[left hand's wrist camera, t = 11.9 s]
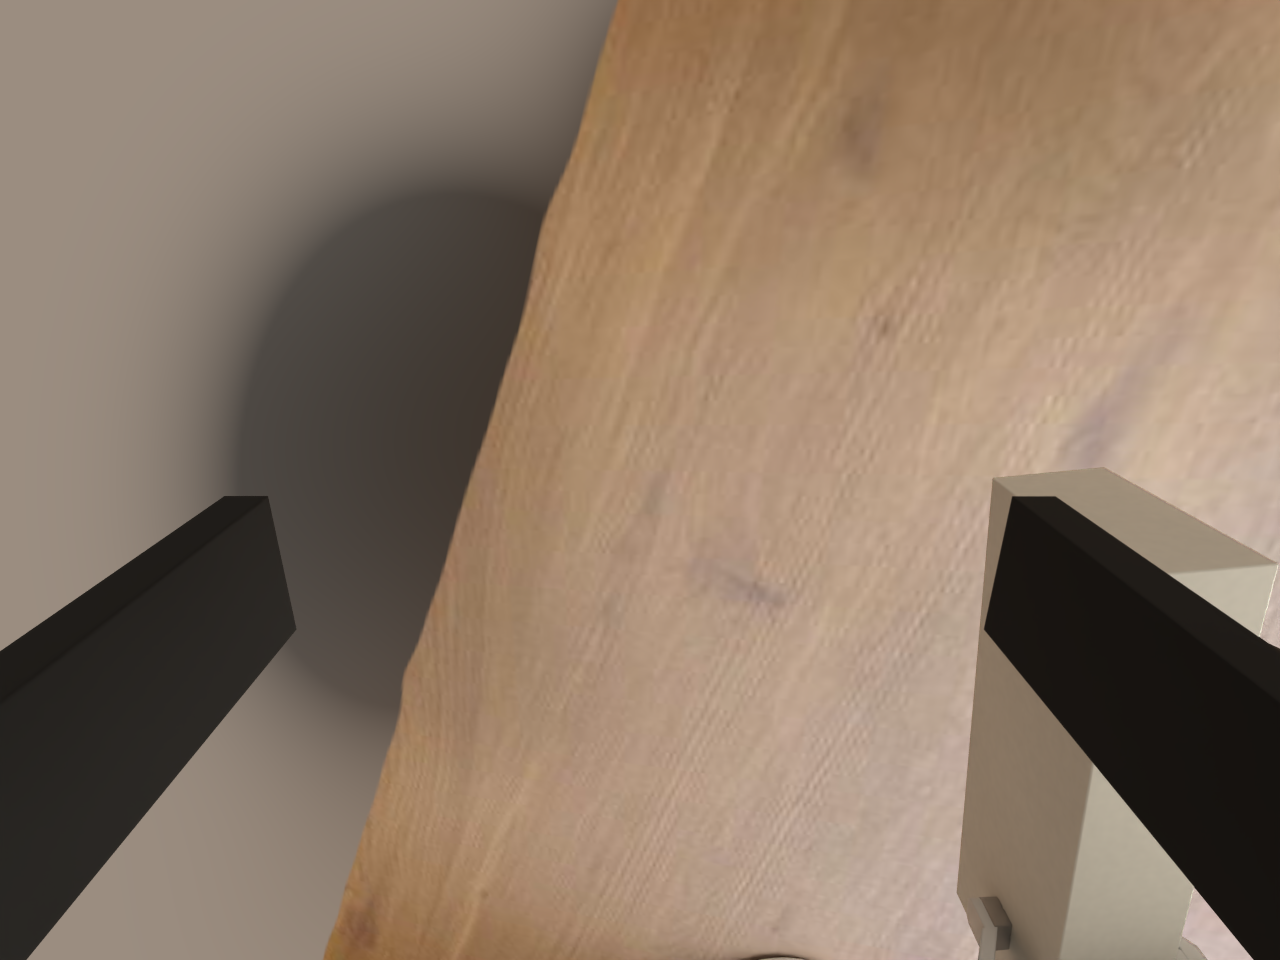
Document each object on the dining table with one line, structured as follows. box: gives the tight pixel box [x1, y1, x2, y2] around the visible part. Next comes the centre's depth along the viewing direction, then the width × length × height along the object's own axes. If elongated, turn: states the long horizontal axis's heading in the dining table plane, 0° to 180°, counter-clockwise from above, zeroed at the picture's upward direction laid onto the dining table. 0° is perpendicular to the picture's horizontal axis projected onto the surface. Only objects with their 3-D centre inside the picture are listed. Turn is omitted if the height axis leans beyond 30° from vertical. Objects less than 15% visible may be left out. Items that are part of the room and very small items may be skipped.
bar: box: [957, 467, 1278, 960], centre depth 32 cm, size 26×5×9 cm, turn 6°
